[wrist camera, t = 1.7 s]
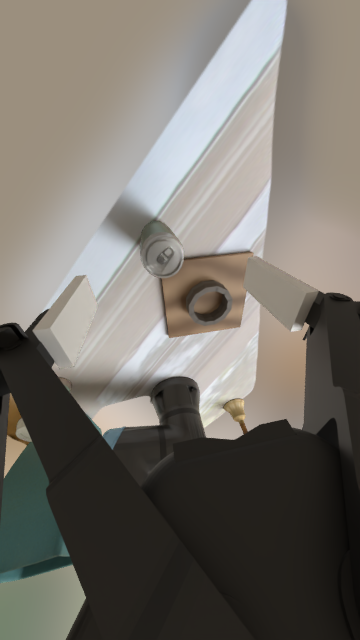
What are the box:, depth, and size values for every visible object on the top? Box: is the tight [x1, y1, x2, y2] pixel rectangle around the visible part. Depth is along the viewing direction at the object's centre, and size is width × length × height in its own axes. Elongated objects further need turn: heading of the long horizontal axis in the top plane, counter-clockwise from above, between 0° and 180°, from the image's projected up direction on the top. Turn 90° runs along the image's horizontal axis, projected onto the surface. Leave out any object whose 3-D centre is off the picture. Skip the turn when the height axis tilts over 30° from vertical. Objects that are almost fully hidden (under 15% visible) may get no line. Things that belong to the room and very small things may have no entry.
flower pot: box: [0, 417, 102, 583], centre depth 48 cm, size 20×20×28 cm
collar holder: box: [162, 252, 253, 338], centre depth 37 cm, size 18×18×4 cm
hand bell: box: [224, 399, 248, 434], centre depth 63 cm, size 8×8×16 cm
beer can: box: [140, 221, 184, 278], centre depth 26 cm, size 5×5×12 cm
